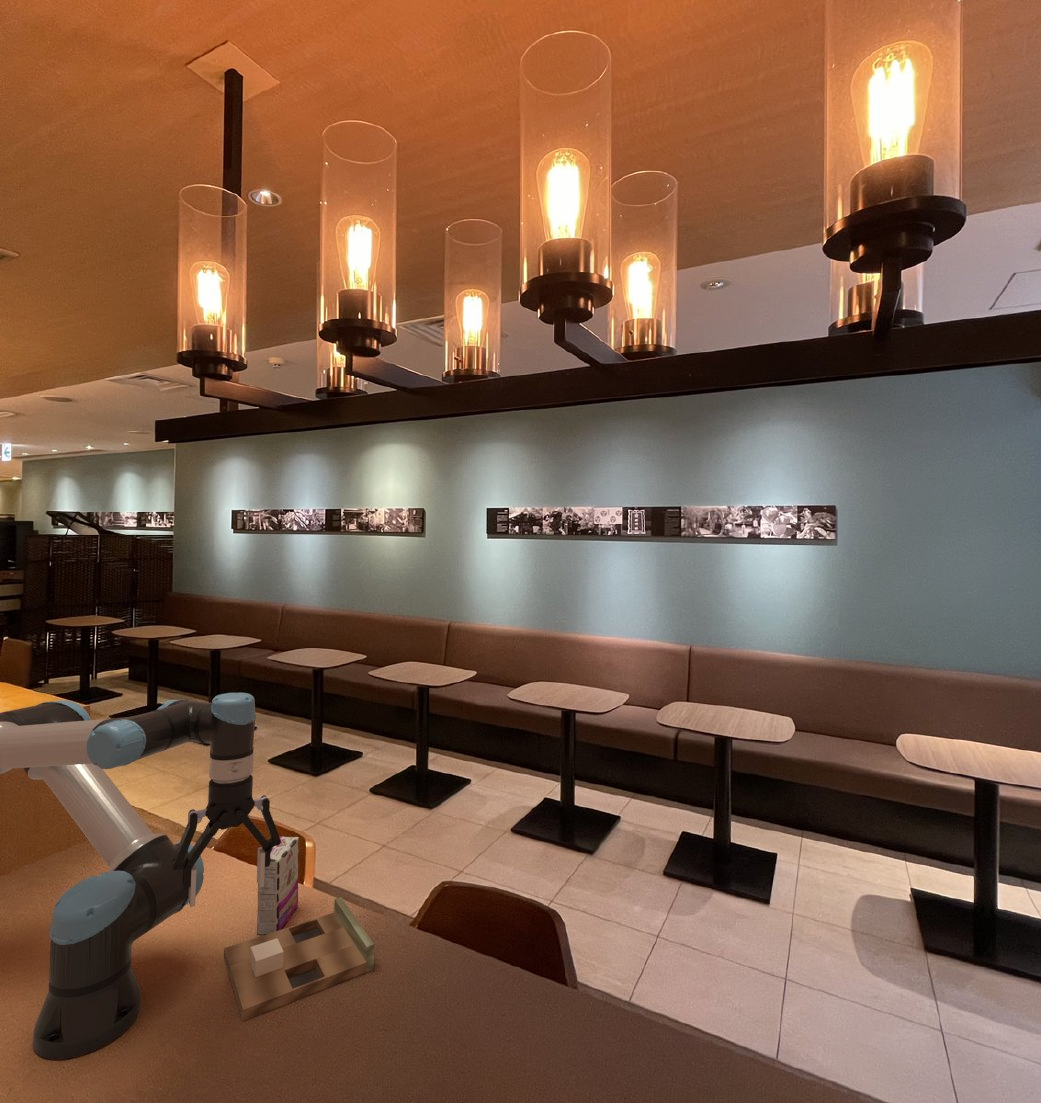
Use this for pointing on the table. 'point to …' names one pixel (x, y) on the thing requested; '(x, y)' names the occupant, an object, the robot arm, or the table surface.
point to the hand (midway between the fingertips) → (227, 893)
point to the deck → (301, 961)
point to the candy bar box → (279, 887)
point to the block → (266, 957)
